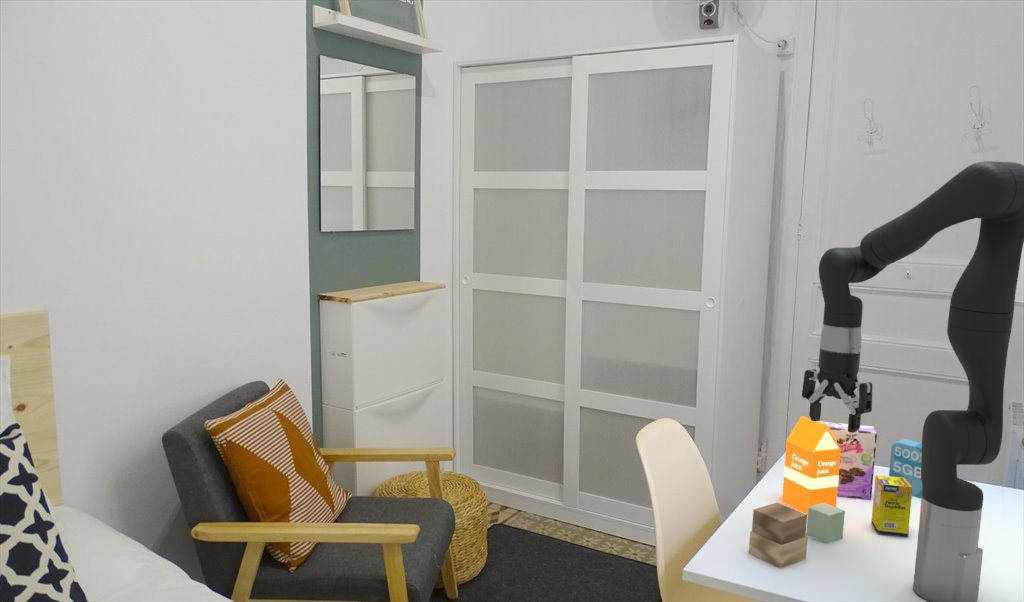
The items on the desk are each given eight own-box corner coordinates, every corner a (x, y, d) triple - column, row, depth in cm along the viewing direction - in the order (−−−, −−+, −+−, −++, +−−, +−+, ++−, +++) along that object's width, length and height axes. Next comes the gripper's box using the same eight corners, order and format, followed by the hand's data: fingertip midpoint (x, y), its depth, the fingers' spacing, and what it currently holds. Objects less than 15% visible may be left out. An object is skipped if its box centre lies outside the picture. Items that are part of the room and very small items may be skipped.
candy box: (808, 493, 186) (813, 425, 184) (806, 484, 192) (811, 419, 190) (871, 500, 182) (877, 432, 180) (868, 492, 188) (874, 425, 186)
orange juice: (808, 497, 183) (814, 414, 181) (836, 511, 175) (843, 424, 173) (781, 501, 181) (787, 416, 178) (808, 516, 172) (815, 427, 170)
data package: (887, 488, 191) (891, 440, 189) (895, 484, 194) (900, 437, 192) (939, 504, 182) (944, 453, 180) (947, 499, 184) (952, 450, 183)
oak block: (805, 559, 152) (807, 537, 151) (780, 569, 148) (782, 546, 147) (773, 545, 158) (775, 523, 157) (748, 553, 154) (750, 531, 153)
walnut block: (805, 537, 151) (807, 514, 151) (781, 545, 147) (783, 522, 147) (775, 524, 157) (777, 502, 156) (751, 531, 153) (753, 509, 153)
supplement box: (908, 537, 163) (913, 486, 161) (877, 534, 164) (882, 484, 162) (900, 526, 168) (905, 477, 167) (870, 523, 170) (875, 474, 168)
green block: (842, 538, 161) (844, 510, 161) (827, 544, 159) (829, 515, 158) (821, 529, 165) (823, 502, 165) (806, 534, 163) (808, 507, 162)
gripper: (797, 342, 161) (792, 419, 163) (861, 356, 149) (854, 438, 151) (820, 339, 165) (815, 415, 167) (884, 352, 153) (877, 433, 155)
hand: (833, 426), depth 159 cm, fingers open, 8 cm apart
